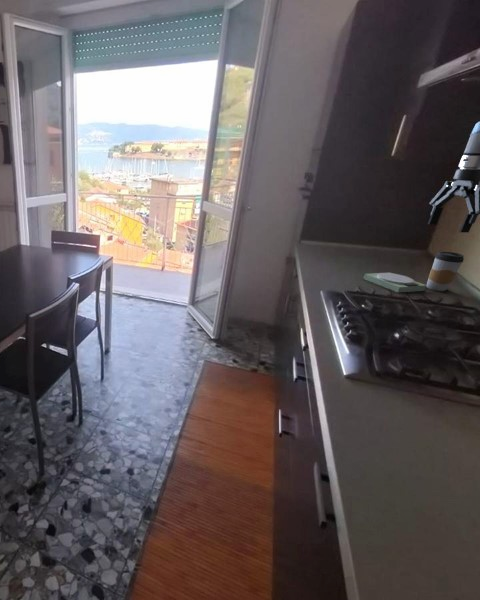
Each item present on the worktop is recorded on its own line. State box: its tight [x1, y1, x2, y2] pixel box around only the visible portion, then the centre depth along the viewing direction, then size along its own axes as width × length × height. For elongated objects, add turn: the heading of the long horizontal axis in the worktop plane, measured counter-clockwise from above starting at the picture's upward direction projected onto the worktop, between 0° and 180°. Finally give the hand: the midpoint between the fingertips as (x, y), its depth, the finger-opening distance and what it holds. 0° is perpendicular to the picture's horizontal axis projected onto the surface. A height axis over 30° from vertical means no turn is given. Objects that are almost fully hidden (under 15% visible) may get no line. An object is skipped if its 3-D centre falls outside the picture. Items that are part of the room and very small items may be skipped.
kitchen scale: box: [363, 271, 427, 294], centre depth 152 cm, size 16×13×3 cm
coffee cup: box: [426, 251, 465, 292], centre depth 146 cm, size 8×8×15 cm
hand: (447, 228), depth 135 cm, fingers open, 13 cm apart
